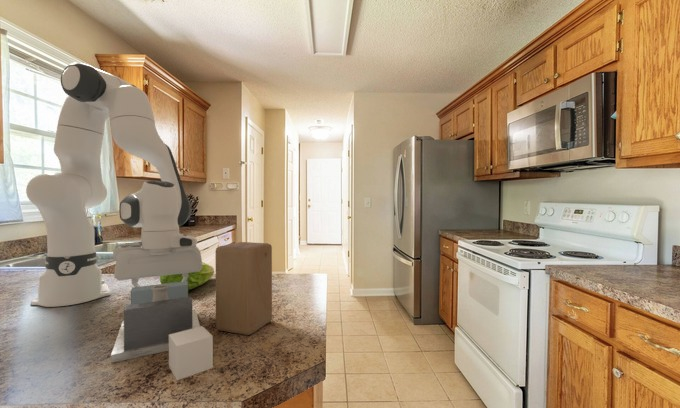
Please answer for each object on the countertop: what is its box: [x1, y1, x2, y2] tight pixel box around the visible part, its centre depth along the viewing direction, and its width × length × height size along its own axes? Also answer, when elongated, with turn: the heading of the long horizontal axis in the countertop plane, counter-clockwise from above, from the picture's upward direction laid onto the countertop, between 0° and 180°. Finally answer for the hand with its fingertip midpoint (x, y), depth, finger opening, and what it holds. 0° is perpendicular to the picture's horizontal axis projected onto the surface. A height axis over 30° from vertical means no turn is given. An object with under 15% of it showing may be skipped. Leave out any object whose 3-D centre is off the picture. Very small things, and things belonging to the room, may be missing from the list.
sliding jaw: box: [130, 281, 189, 305], centre depth 76 cm, size 4×12×8 cm, turn 120°
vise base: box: [110, 296, 201, 364], centre depth 70 cm, size 19×16×10 cm
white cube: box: [168, 325, 214, 381], centre depth 57 cm, size 6×6×6 cm
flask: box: [151, 284, 169, 302], centre depth 69 cm, size 7×7×10 cm
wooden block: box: [215, 241, 273, 336], centre depth 75 cm, size 10×10×20 cm
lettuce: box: [159, 261, 215, 291], centre depth 110 cm, size 12×24×13 cm
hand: (161, 291), depth 83 cm, fingers open, 8 cm apart
